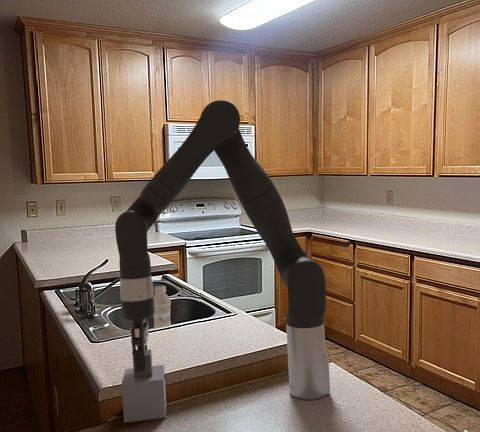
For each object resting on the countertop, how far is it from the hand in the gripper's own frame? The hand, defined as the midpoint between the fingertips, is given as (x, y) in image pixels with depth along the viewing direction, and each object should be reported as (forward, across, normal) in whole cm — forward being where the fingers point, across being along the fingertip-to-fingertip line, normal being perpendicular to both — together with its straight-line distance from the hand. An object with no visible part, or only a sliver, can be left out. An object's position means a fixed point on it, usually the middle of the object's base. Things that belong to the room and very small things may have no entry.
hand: (141, 364), depth 108 cm
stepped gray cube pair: (+11, 0, 0) cm, 11 cm away
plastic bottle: (+11, +48, -4) cm, 49 cm away
